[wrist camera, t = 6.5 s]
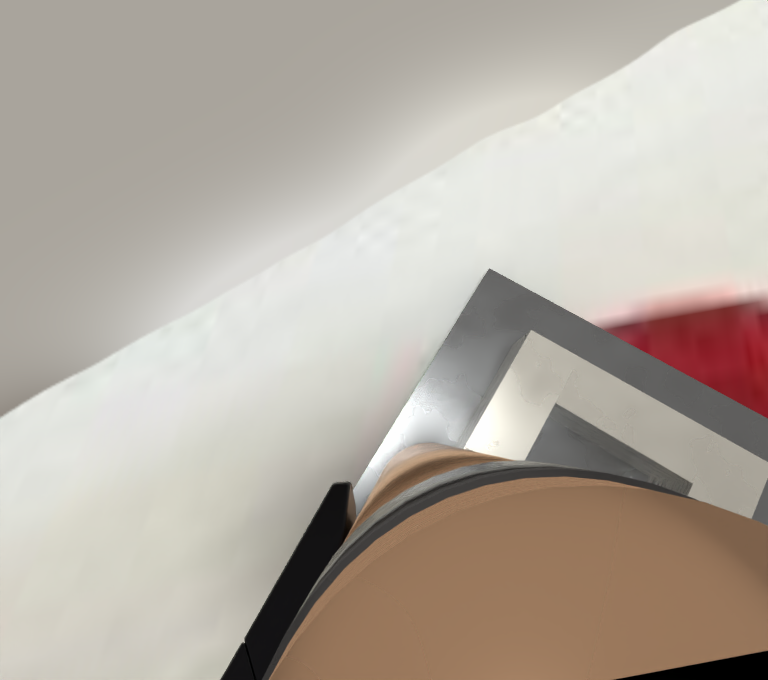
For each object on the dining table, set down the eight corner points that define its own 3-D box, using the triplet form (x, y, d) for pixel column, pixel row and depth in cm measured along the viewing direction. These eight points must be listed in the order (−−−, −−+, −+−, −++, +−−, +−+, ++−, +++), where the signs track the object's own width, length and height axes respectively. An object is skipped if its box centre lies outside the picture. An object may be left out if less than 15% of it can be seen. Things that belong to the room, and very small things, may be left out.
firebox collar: (786, 439, 20) (878, 440, 16) (646, 791, 17) (718, 896, 13) (485, 275, 23) (502, 243, 19) (318, 548, 20) (297, 575, 16)
